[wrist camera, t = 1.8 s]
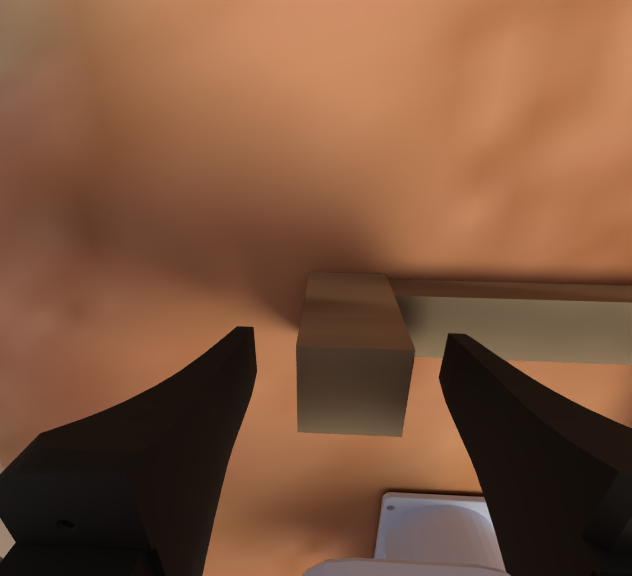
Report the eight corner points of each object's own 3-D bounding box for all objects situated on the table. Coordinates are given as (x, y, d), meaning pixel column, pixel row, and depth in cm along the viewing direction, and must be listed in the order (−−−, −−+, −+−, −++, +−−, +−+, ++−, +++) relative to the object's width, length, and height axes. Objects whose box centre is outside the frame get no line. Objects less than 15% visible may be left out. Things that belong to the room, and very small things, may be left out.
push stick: (663, 348, 16) (834, 456, 11) (309, 336, 17) (297, 432, 11) (698, 282, 15) (917, 367, 9) (309, 271, 15) (296, 346, 10)
